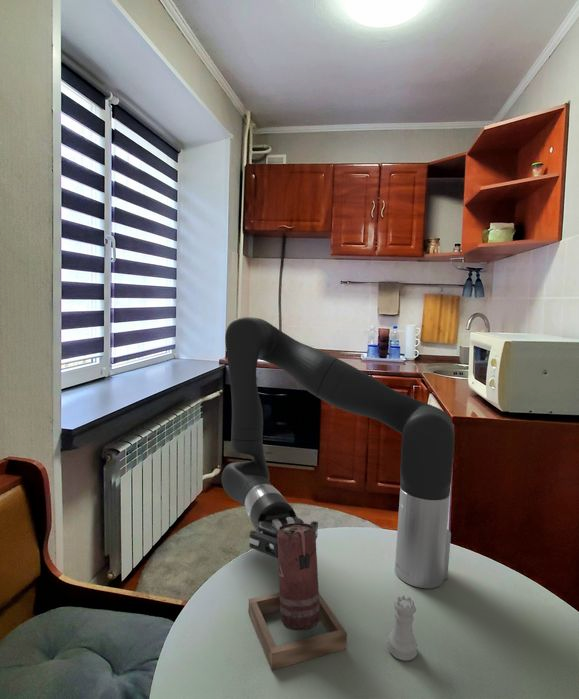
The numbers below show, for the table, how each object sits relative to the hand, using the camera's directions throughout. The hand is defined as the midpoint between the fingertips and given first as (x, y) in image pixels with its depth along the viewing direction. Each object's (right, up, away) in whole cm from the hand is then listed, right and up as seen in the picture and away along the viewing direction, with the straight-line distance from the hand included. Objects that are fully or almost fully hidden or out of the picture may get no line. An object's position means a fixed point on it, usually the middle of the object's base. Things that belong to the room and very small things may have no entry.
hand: (305, 563), depth 63 cm
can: (-1, -10, +1) cm, 10 cm away
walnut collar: (-1, -12, +4) cm, 13 cm away
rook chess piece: (+15, -14, +1) cm, 20 cm away
